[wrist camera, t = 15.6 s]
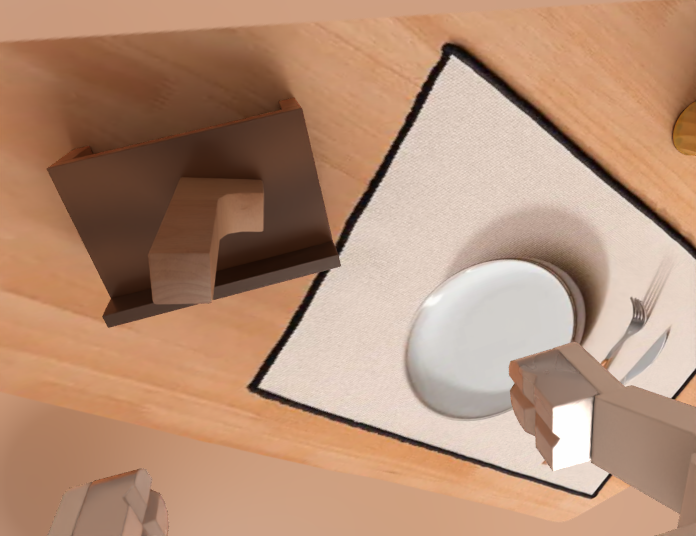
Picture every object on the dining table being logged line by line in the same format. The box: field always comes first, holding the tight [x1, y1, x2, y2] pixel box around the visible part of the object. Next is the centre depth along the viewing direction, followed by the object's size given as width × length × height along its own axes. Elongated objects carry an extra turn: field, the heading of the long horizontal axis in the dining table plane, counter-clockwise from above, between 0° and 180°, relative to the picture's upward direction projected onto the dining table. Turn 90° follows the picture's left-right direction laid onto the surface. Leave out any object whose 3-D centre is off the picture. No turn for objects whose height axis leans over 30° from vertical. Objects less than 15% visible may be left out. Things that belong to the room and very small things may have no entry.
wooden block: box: [148, 177, 264, 304], centre depth 34 cm, size 7×3×15 cm, turn 85°
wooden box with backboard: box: [47, 98, 341, 328], centre depth 43 cm, size 13×20×10 cm, turn 101°
